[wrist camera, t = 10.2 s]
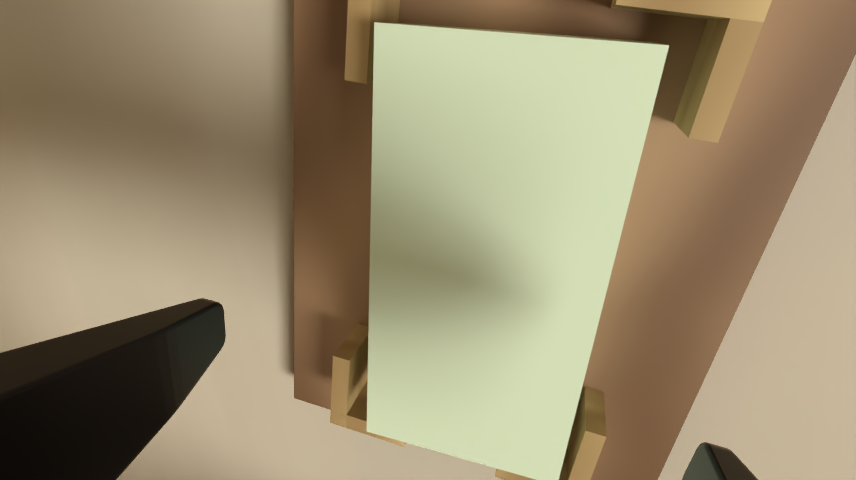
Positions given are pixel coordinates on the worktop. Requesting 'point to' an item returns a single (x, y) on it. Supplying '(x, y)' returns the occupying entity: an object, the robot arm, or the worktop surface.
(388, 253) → the pale green board
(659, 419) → the walnut plate
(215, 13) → the worktop surface
